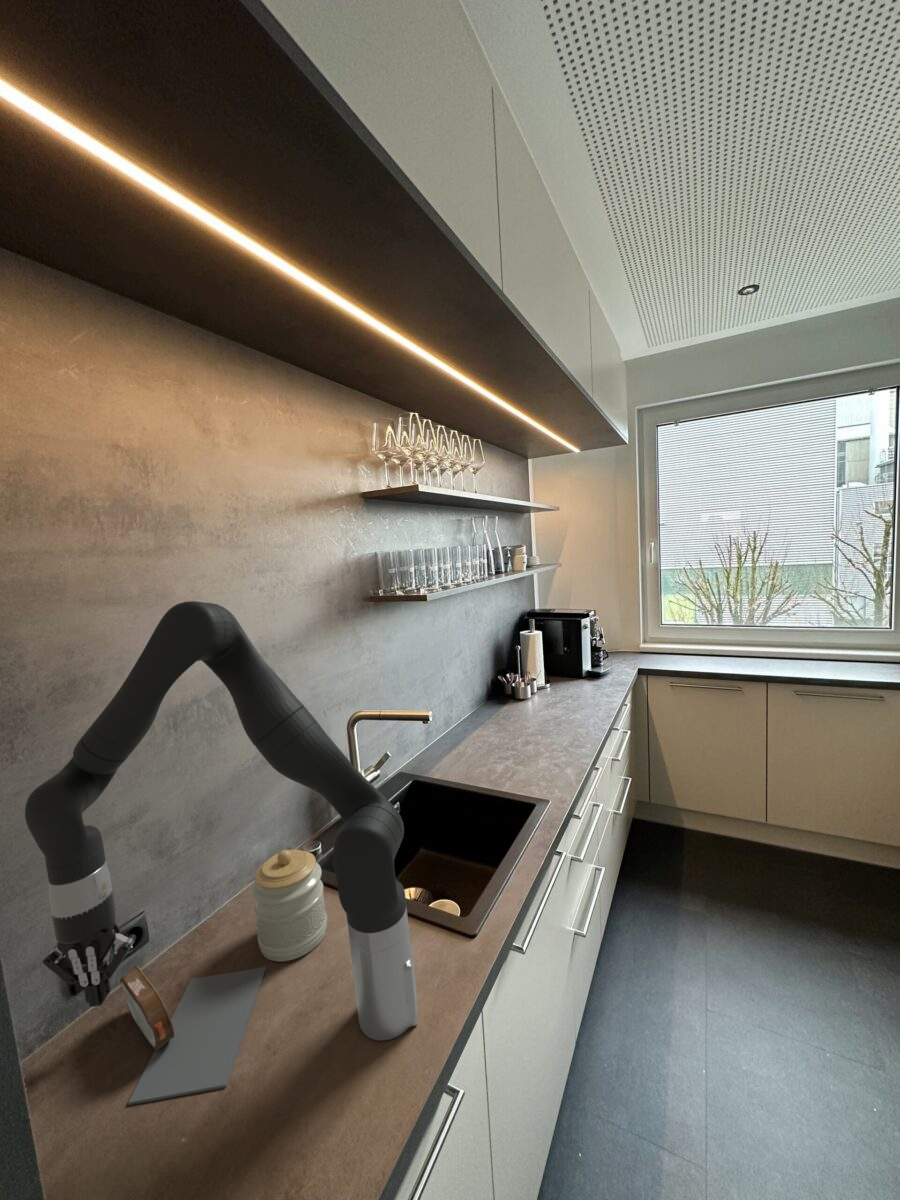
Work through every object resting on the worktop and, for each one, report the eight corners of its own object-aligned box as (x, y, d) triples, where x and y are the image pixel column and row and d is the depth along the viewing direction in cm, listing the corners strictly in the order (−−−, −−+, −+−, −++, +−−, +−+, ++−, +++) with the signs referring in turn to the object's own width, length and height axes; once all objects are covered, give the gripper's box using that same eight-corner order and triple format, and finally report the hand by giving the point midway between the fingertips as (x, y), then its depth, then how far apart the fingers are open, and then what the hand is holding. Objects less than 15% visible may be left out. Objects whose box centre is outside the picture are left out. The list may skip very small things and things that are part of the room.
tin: (179, 1047, 73) (169, 996, 73) (157, 1065, 71) (145, 1013, 70) (145, 999, 83) (135, 954, 82) (124, 1014, 81) (114, 968, 80)
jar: (303, 969, 87) (292, 876, 85) (244, 958, 90) (232, 868, 89) (340, 916, 99) (330, 834, 98) (286, 908, 103) (276, 829, 101)
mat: (266, 968, 87) (265, 966, 87) (225, 1087, 68) (225, 1084, 68) (191, 981, 86) (191, 978, 86) (128, 1105, 66) (128, 1102, 66)
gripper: (140, 876, 79) (155, 974, 80) (54, 888, 78) (70, 988, 79) (113, 908, 71) (129, 1016, 73) (17, 922, 70) (36, 1032, 72)
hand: (99, 1001), depth 76 cm, fingers closed
